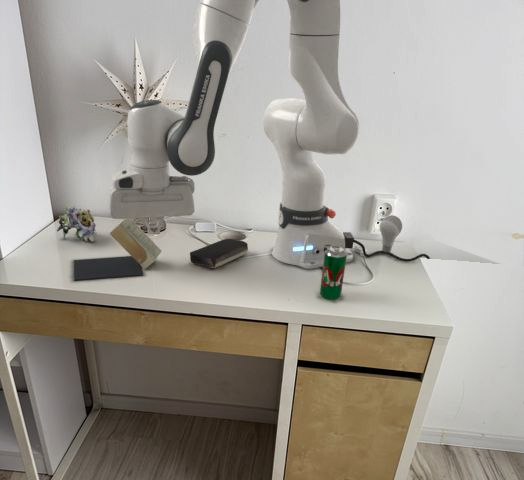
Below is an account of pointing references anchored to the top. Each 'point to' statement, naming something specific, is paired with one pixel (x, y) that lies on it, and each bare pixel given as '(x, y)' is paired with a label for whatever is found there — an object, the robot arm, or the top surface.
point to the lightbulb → (390, 231)
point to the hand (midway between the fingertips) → (153, 233)
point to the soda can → (333, 272)
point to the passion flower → (78, 223)
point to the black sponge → (219, 253)
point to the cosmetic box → (135, 242)
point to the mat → (106, 268)
